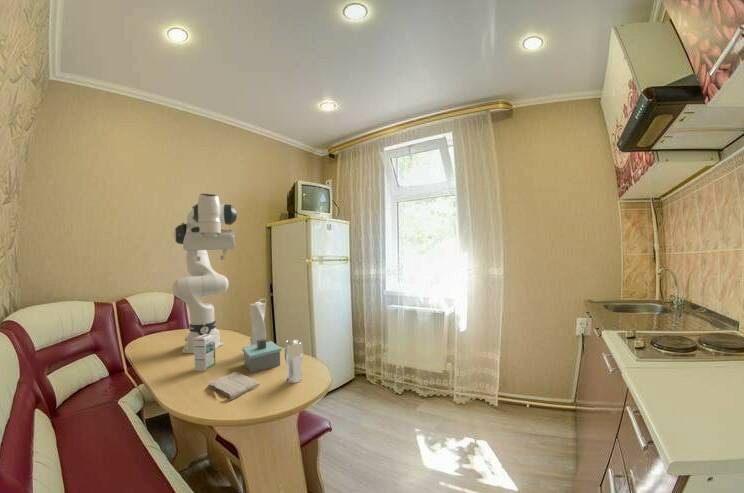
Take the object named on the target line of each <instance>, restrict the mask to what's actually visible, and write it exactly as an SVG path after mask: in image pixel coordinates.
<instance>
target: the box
mask: <svg viewBox="0 0 744 493" xmlns="http://www.w3.org/2000/svg"><path fill="white" fill-rule="evenodd" d="M243 364H244V366H245V367H246V369H248V371H249V372H250V373H251V374H255V373H257V372H261V371H265V370H267V369H268V370H269V369H271V368H272V369H273V368H274V367H275V368H276V367H279V366H281V351H280V352H276V353H272V354H268V355H264V356H260V357H256V358H252V359H250V358H249V357H248V356H247V355H246V354H245V353H244V352H243Z"/></svg>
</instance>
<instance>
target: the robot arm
mask: <svg viewBox="0 0 744 493" xmlns="http://www.w3.org/2000/svg"><path fill="white" fill-rule="evenodd" d="M191 208H192V209H191V210H190V211H189V213H188V214H187V216H186V223H184V222H182V223H181V224H180V225H177V226H176V227H175V228H174V230H173V233H172V235H173V239H174V240H175V243H177V244H180V245H182V248H183V250H184V251H186V254H185V255H186V256H185V260H186V268H187V271H188V273H189V275H190V276H183V277H181V278H177V279H176V280H175V281H174V282H173V283H172V289H171V291H172V293H173V295H174V296H175V298H178V299H180V300H182V301H183V302H184V304H186V306H187V308H188V310H189V311H188V312H189V318H190V319H189V320H190V322H189V333H188V334H187V335H186V336H185V338H184V342H186V343H185V344H184V347H183V348H182V352H181V354H194V338H196V337H199V336H202V335H204V334H213V335H214V339H215V350H216V349H218V348H219V347H221V346H223V345H224V342H223V341H220V340H221V339H220V331H219V329H217V328H216V327H217V326H216V325H217V322H216V320H215V306H214V305H213V304H212V303H210V302H206V301H204V300H202V299H201V298H203V297H209V296H216V295H220V294H223V293H226V292H227V290H228V289H229V285H230V282H229V280H228V278H227V277H226V276H225V275H223V274H220V273H218V272H217V271H215V269H214V268H213V267H212V265H211V262H210V257H209V254H208V251H217V250H218V251H222V252H223V254H222V255H219V257H220V259H219V260H220V261H224V260H225V256H226V254H227V253H228V250H229V251H230V250H235V249H236V241H235V238H236V232H235V231H233V230H231V229H222V225H226V226H227V225H228V226H231V225H233V224H234V223H235V222H236V221H237V217H238V215H237V214H238V213H237V209H236V208H235V206H233V205H232V204H228V203H227V204H226V203H225V204H221V202H220V198H219V196H218V195H217V194H212V193H211V194H210V193H200V194H199V195H198V198H197V203H196V204H195V205H193V206H192V207H191Z"/></svg>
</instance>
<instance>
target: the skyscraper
mask: <svg viewBox="0 0 744 493" xmlns="http://www.w3.org/2000/svg"><path fill="white" fill-rule="evenodd" d="M264 300H265V303H264V302H263V303H262V302H261V301H264ZM266 303H267V299H266V298H260V299H259V300H258V301H256V302H254V303H249V312H250V320H251V330H250V331H251V333H250V335H251V336H250V338H249V339H250V346H252V345H256V344H257V340H260V339H265V340H266V341H267V333H266V332H267V331H266V324H265V317H266V307H267V306H266V305H267V304H266Z"/></svg>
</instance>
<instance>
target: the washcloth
mask: <svg viewBox="0 0 744 493" xmlns="http://www.w3.org/2000/svg"><path fill="white" fill-rule="evenodd" d="M260 385H261V383H260V382H259V381H257V380H256V379H253V378H251V377H250V376H247V375H246V374H245V375H244V374H242V373H241V372H238V371H233V372H231V373H229V374H227V375H225V376H221V377H218V378H215V379H213V380H211V381H209V382H208V385H207V387H208V388H209V389H210V390H211V391H213V392H214V393H216V394H218V392H220V393H222V394H223V395H225V396H226V397H225V399H227V400H228V401H229V400H230V401H231V400H234V399H237V398H238V397H240V396H243V395H245V394H247V393H250V392H252V391H254V390H256V389H258V388H259V386H260ZM217 391H218V392H217Z"/></svg>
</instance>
